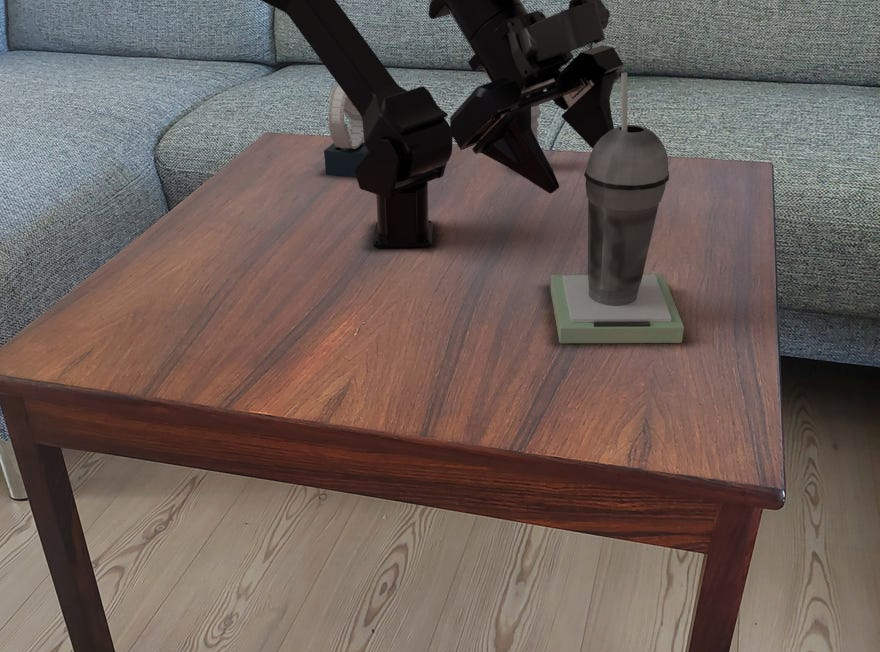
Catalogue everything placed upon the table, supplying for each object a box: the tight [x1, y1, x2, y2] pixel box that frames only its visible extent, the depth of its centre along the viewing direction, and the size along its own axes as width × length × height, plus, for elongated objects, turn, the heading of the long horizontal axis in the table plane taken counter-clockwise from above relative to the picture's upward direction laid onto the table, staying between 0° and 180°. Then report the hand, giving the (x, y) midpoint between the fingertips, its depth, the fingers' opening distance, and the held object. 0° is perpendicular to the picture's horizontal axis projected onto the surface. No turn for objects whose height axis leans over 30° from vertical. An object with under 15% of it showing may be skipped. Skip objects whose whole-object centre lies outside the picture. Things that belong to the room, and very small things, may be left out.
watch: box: [323, 82, 369, 178], centre depth 120 cm, size 6×8×11 cm
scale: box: [549, 273, 685, 344], centre depth 88 cm, size 11×11×2 cm
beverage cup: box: [583, 72, 670, 306], centre depth 82 cm, size 7×7×20 cm
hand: (586, 176), depth 84 cm, fingers open, 9 cm apart
